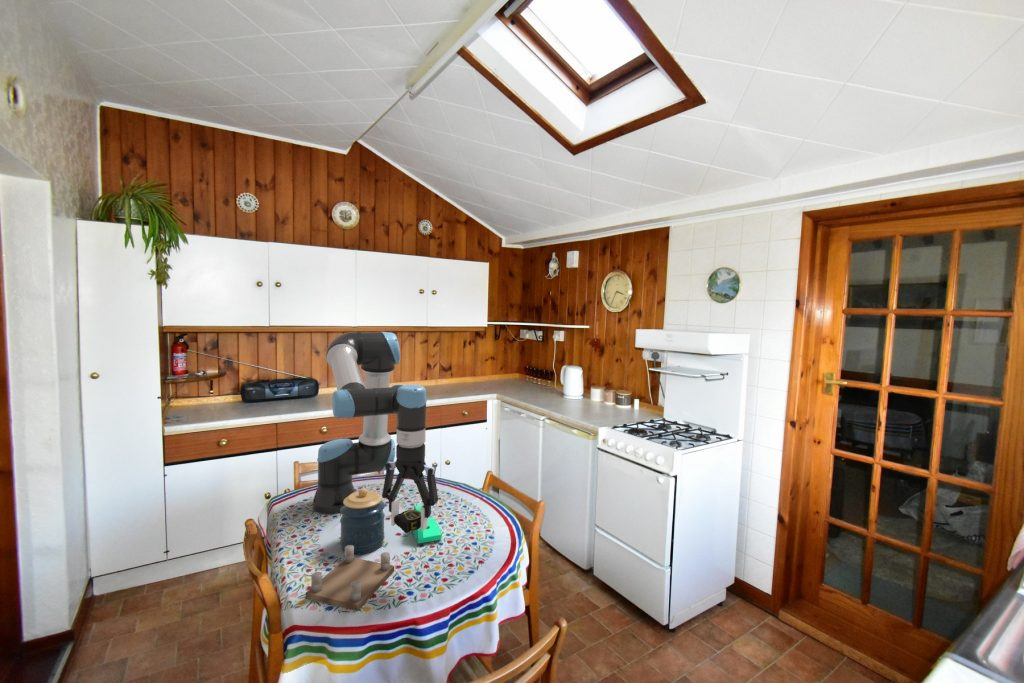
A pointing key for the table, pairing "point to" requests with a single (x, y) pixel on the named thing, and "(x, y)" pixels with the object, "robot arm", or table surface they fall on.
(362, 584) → the pin board
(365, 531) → the canister
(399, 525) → the tape measure
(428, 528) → the camera mount
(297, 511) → the table surface
